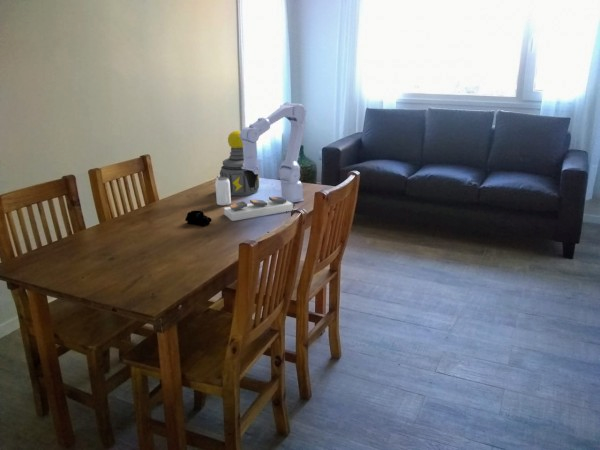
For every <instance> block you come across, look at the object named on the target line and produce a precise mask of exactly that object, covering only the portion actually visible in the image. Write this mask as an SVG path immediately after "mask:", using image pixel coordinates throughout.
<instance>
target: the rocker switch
mask: <svg viewBox="0 0 600 450" xmlns="http://www.w3.org/2000/svg"><path fill="white" fill-rule="evenodd" d="M269 200H271V201H273V202H286V200H285V199H284V198H282V196H269V197H268V201H269Z"/></svg>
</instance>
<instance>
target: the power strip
mask: <svg viewBox="0 0 600 450" xmlns="http://www.w3.org/2000/svg"><path fill="white" fill-rule="evenodd" d="M264 201H265V202H266V203H267V205H253V204H252V203H250V202H249V203H246V204H247V207H244V208H241V209H238V210H235V211H234V210H233V209H231V208H230V206H226V207H223V215H224V216H226V217H227V218H228V219H229V220H230V221H231V222H234V221H241V220H245V219H246V220H247V219H252V218H257V217H263V216H268V215H270V216H271V215H273V214H274V215H275V214H279V213H286V211H287V212H292V210H293V211H294V207H295V202H293V203H291V202H289V201H287V200H286V202H273V201H271V200H269V199H268V200H264Z"/></svg>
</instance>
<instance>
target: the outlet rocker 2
mask: <svg viewBox="0 0 600 450" xmlns="http://www.w3.org/2000/svg"><path fill="white" fill-rule="evenodd" d="M265 201H266V200H262V199H259V200H258V199H250V200H249V204H250V203H252V204H253V205H267V203H266V202H265Z"/></svg>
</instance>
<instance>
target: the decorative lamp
mask: <svg viewBox="0 0 600 450" xmlns="http://www.w3.org/2000/svg"><path fill="white" fill-rule="evenodd" d="M240 133H241V130H233V131H231V132H230V133H229V134H228V137H227V143H228V146H229V147H230V151H229V154H230V155H229V157H228V158H226V159H224V160H222V166H220V172H219V177H228V179H229V181H230V194H231V196H233V197H243V196H250V195H253V194H256V193H257V192H258V191H259V188H260V174H258V176H257V178H256V183H255V187H253V188H250V187H249V185H248V181H247V178H246V176H245V174H244V171H247V170H246V169H242V167H243V163H244V155H243V144H242V140H241V138H240V136H239V134H240Z"/></svg>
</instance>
